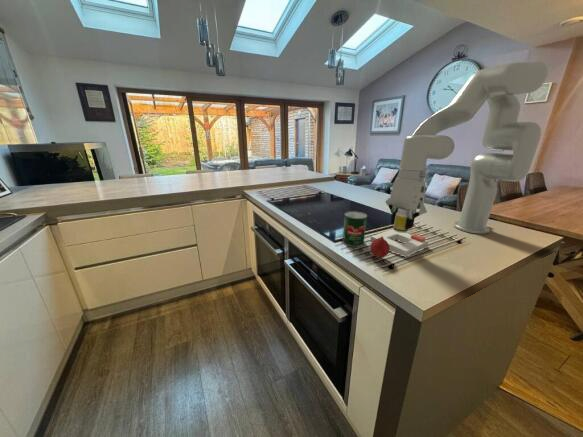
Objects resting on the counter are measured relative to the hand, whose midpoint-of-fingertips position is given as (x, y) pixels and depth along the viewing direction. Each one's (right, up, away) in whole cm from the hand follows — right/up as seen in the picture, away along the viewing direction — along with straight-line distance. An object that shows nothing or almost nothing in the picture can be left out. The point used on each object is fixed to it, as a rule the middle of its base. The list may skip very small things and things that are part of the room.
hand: (401, 225), depth 84 cm
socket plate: (0, -7, +3) cm, 8 cm away
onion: (-11, -11, -6) cm, 16 cm away
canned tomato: (-16, -7, +5) cm, 18 cm away
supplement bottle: (0, -2, +1) cm, 2 cm away
